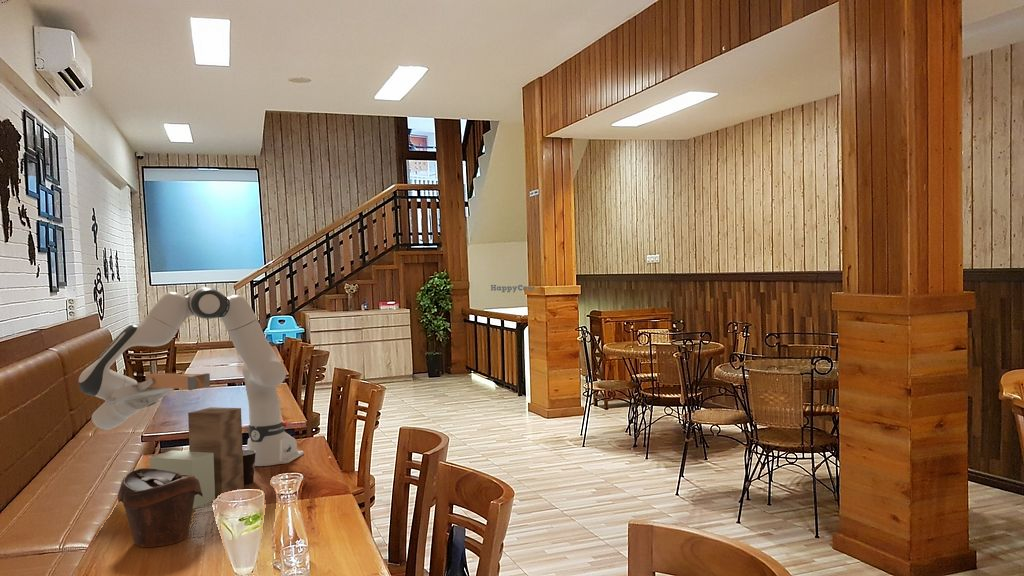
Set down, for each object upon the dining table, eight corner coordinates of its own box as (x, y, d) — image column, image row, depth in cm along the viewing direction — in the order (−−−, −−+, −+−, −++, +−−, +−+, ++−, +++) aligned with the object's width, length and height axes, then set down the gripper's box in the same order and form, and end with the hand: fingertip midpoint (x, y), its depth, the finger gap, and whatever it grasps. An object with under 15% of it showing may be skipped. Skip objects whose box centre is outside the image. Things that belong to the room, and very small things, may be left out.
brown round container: (199, 545, 183) (197, 474, 183) (111, 557, 177) (108, 483, 177) (208, 524, 200) (205, 459, 200) (128, 534, 194) (125, 467, 194)
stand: (213, 486, 237) (210, 407, 237) (243, 488, 233) (241, 408, 233) (191, 495, 228) (188, 412, 227) (222, 497, 224) (219, 414, 224)
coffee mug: (247, 486, 235) (246, 456, 235) (223, 486, 237) (222, 455, 237) (266, 477, 246) (265, 447, 246) (243, 476, 248) (242, 447, 248)
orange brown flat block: (160, 384, 236) (160, 372, 236) (210, 386, 229) (209, 373, 229) (140, 388, 228) (140, 375, 228) (191, 390, 222) (190, 377, 222)
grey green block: (173, 496, 227) (172, 450, 227) (215, 499, 222) (213, 452, 221) (150, 505, 218) (149, 457, 218) (193, 509, 213) (191, 460, 213)
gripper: (100, 396, 226) (128, 374, 222) (152, 386, 245) (179, 366, 241) (108, 413, 225) (137, 392, 221) (160, 402, 244) (187, 382, 240)
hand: (159, 378), depth 231 cm, fingers closed on orange brown flat block, 4 cm apart
